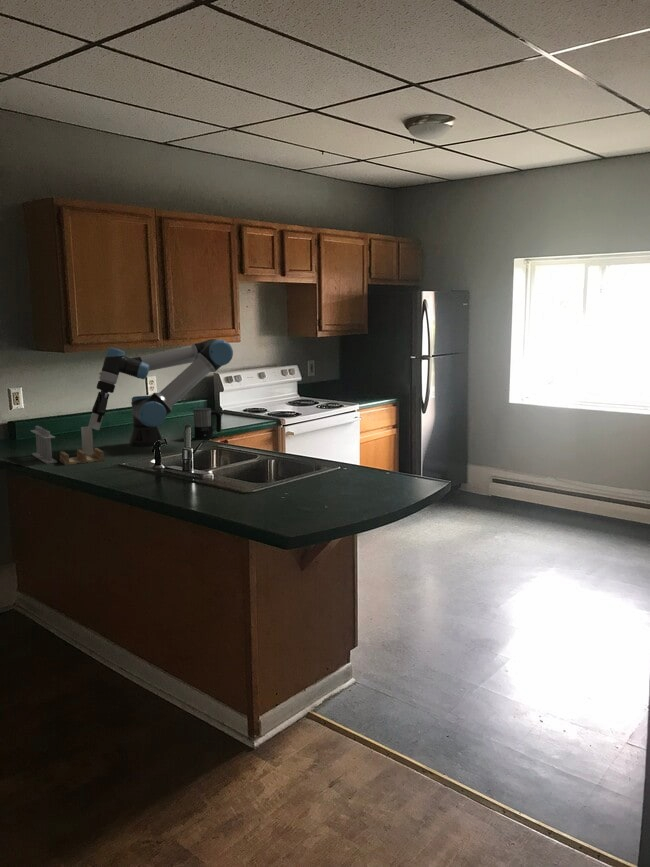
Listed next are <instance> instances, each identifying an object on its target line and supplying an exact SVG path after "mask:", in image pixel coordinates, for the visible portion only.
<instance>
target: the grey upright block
mask: <svg viewBox="0 0 650 867" xmlns="http://www.w3.org/2000/svg"><path fill="white" fill-rule="evenodd" d="M80 431H81V432H80V433H81V448H82V449H81V450H82V451H83V452H85V453H86V456H90V455H92V454H94V451H93V448H94V441H93V440H94V439H93V438H94V437H93V428H91V427H89V426H88V425H87V426H80Z"/></svg>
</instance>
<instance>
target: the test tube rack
mask: <svg viewBox="0 0 650 867" xmlns="http://www.w3.org/2000/svg"><path fill="white" fill-rule="evenodd" d="M34 428H35V429H32V430H31V429H30V433H33V434H35V445H36V452H32V453H31V455H32V456H33V457H35V458H36V459H38V460H40V462H43V463H44V464H46V465H50V464H51V465H52V464H57V463H58V461H57V460H56V459H55V458H53V453H52V439H56V436H55V435H52V434H51V431H50V430H48V429H45V428H43V427H42V426H39V425H35V427H34Z"/></svg>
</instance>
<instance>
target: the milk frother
mask: <svg viewBox="0 0 650 867" xmlns="http://www.w3.org/2000/svg"><path fill="white" fill-rule="evenodd" d="M192 411H193V423H194V424H193V425H194V437H193V438H194V439H195V440H210V439H213V436H214V433H213V432H214V427H213V416H215V417H216V424H215V425H216V426H215V428H216V429H215V431H216V432H217V433H220V432H221V431H222V415H221V414H220V412H219V411H217V410H212V408H210V407H195V408H193V409H192Z"/></svg>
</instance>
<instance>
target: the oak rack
mask: <svg viewBox="0 0 650 867" xmlns="http://www.w3.org/2000/svg"><path fill="white" fill-rule="evenodd" d="M93 454H94V455H86V453H85V452H83V451H82V449H76V456H73V457H70V454H68V453H67V452H65V451H59V462H60V463H62V464H63V465H64V466H68V465H69V466H70V465H76V464H77V463H79V464H86V462H88V463H95V462H94V461H97V462H104V461H105V458H104V451H103V450H102V449H100V448H98V447H93Z"/></svg>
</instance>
